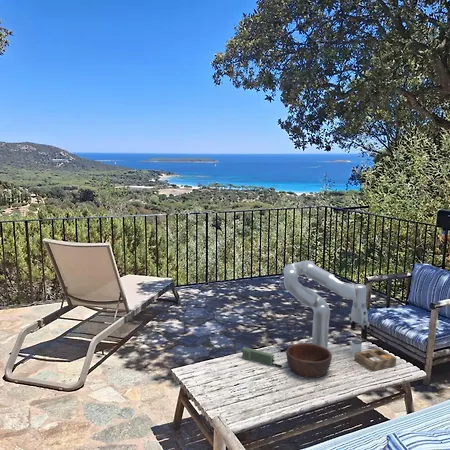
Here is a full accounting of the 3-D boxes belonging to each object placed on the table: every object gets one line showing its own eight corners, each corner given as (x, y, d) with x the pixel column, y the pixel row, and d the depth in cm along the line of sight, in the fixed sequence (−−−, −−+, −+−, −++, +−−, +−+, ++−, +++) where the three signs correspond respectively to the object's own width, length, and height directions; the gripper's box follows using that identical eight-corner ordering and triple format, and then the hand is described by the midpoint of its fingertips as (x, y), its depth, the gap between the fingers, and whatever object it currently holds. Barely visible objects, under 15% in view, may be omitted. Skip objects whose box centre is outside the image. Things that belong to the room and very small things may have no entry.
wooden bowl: (319, 385, 212) (320, 367, 211) (277, 371, 227) (278, 353, 226) (337, 367, 232) (338, 350, 230) (298, 355, 247) (298, 339, 245)
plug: (355, 355, 248) (356, 342, 247) (351, 352, 252) (351, 339, 251) (361, 354, 250) (361, 341, 249) (356, 351, 254) (357, 339, 253)
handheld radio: (244, 356, 245) (282, 367, 232) (241, 358, 242) (280, 369, 229) (244, 346, 243) (283, 356, 230) (241, 348, 241) (280, 358, 228)
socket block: (371, 371, 228) (372, 362, 227) (354, 360, 241) (355, 352, 240) (395, 366, 235) (396, 357, 234) (378, 355, 248) (378, 347, 247)
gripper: (374, 308, 241) (373, 335, 243) (354, 299, 257) (353, 325, 259) (364, 309, 238) (363, 337, 240) (345, 301, 254) (344, 327, 256)
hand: (358, 331), depth 249 cm, fingers open, 9 cm apart
